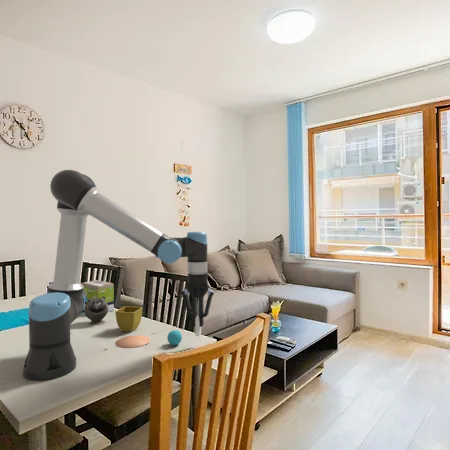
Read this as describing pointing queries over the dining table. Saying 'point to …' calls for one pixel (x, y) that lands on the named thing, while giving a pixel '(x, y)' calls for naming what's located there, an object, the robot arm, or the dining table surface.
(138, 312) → the flower pot
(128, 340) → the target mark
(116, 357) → the dining table surface
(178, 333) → the ball
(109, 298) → the tea box
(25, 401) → the dining table surface
